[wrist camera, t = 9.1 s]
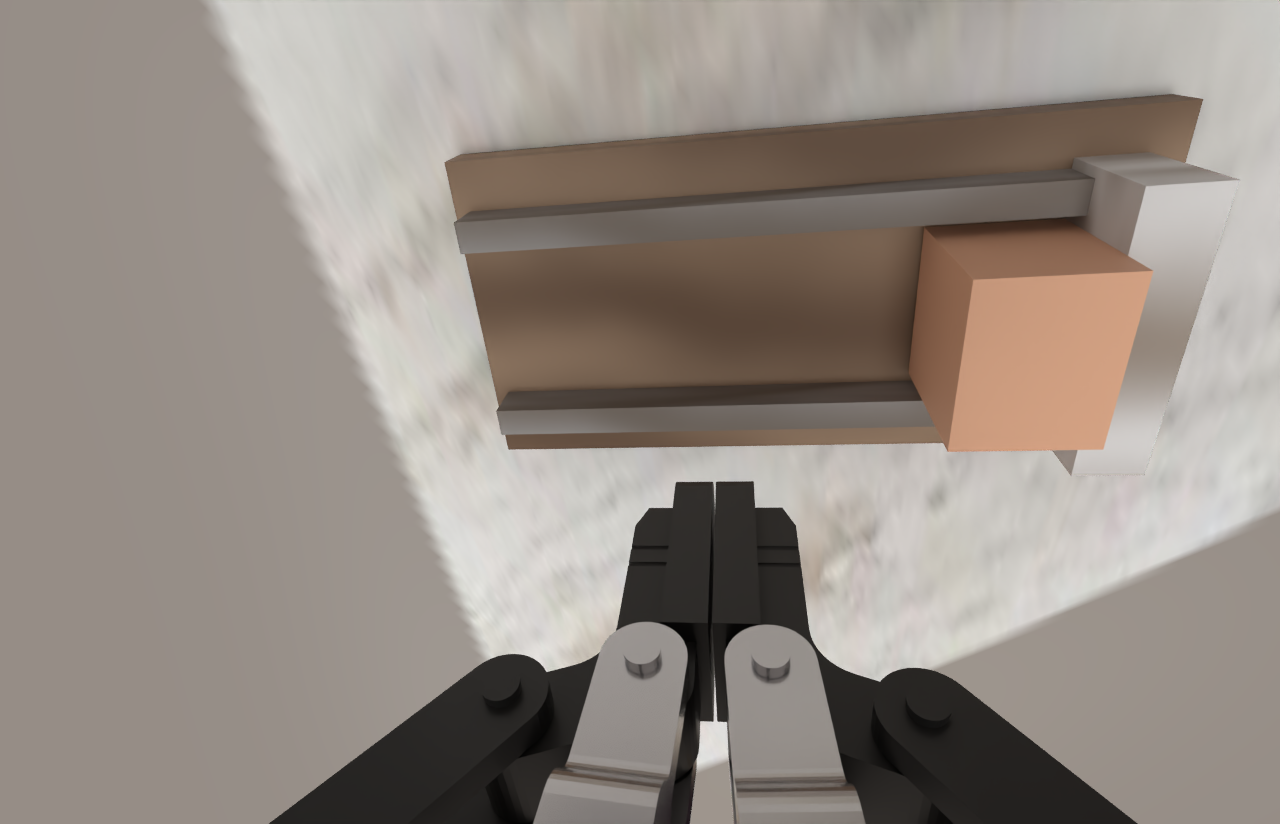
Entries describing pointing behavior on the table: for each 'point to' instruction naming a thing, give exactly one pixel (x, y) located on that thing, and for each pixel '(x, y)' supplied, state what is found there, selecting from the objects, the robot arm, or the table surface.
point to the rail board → (807, 269)
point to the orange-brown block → (1023, 334)
